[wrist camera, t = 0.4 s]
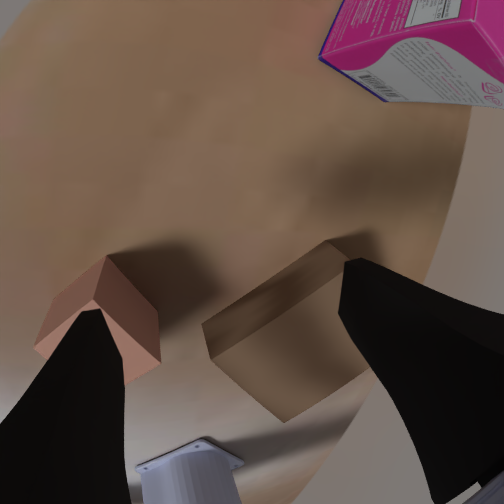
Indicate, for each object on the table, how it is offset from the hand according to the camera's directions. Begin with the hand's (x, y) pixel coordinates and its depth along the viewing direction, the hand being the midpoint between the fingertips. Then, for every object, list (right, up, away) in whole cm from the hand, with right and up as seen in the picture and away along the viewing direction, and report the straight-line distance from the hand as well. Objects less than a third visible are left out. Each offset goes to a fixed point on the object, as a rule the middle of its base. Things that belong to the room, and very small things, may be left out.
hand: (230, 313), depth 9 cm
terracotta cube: (-9, -2, +10) cm, 13 cm away
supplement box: (+8, +15, +7) cm, 18 cm away
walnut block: (+4, -4, +15) cm, 16 cm away
